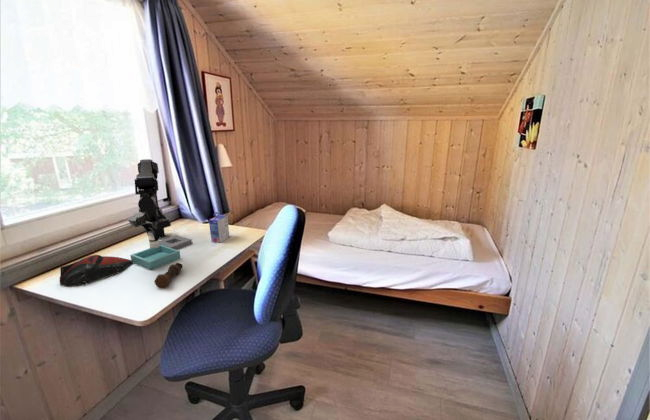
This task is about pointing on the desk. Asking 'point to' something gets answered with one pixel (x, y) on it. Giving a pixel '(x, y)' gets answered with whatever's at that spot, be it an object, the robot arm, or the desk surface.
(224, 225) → the ink cartridge box
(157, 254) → the parts tray
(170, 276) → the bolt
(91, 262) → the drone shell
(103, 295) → the desk surface
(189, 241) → the frame
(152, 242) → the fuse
